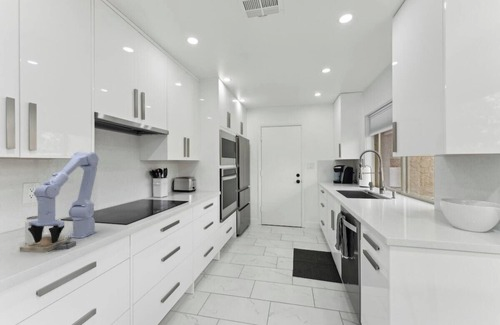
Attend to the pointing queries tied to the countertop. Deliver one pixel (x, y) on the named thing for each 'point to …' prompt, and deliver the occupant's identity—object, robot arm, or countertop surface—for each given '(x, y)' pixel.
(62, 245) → the egg stand
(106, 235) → the countertop surface
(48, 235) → the white egg
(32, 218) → the can
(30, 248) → the carton
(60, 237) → the white egg
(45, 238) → the brown egg
